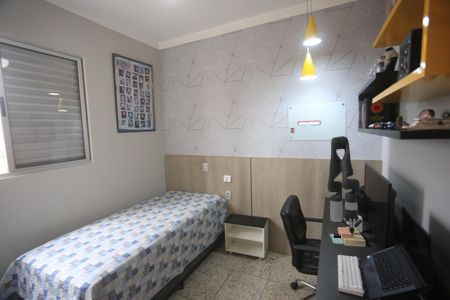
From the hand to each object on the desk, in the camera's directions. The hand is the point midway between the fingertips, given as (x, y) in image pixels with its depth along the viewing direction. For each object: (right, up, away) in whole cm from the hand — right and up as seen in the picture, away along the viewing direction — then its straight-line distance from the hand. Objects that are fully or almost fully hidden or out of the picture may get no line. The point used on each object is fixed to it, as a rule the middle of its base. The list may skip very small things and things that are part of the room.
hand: (351, 232), depth 155 cm
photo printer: (+9, -4, +13) cm, 16 cm away
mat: (-9, -5, +3) cm, 11 cm away
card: (-4, -1, +1) cm, 5 cm away
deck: (0, -5, +1) cm, 5 cm away
